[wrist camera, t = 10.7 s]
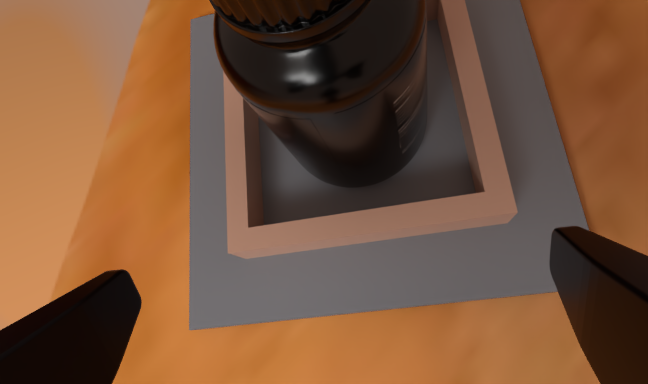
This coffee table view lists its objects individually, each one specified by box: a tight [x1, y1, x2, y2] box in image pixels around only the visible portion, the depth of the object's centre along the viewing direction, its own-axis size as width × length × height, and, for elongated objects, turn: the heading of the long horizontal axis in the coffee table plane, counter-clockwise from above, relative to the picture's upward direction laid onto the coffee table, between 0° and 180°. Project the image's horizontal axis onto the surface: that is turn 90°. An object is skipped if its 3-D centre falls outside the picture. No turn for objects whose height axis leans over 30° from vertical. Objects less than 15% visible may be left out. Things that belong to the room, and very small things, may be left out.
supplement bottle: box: [210, 0, 428, 188], centre depth 15 cm, size 7×7×12 cm
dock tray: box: [189, 0, 589, 330], centre depth 20 cm, size 18×18×3 cm
